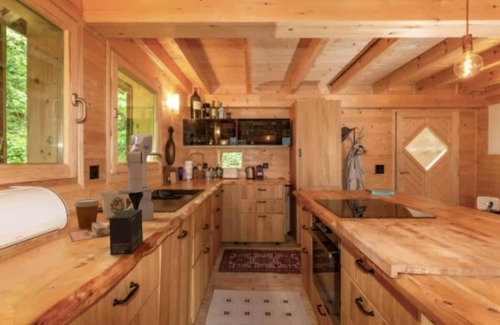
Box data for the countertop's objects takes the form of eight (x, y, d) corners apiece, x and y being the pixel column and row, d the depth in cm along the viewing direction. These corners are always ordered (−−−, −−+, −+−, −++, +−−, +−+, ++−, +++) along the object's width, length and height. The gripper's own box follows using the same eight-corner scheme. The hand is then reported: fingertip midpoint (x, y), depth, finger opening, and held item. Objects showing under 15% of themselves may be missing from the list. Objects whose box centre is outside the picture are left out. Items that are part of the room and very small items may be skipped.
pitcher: (138, 216, 139) (138, 190, 139) (102, 222, 126) (101, 193, 125) (129, 213, 147) (128, 188, 146) (93, 219, 133) (93, 191, 133)
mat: (123, 225, 121) (123, 224, 121) (133, 233, 108) (133, 231, 108) (68, 233, 108) (68, 232, 108) (72, 243, 95) (72, 242, 95)
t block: (120, 225, 118) (120, 218, 118) (127, 231, 108) (127, 224, 108) (91, 229, 111) (91, 222, 111) (96, 236, 102) (96, 228, 102)
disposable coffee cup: (104, 225, 121) (104, 199, 121) (90, 230, 112) (89, 202, 111) (85, 224, 122) (84, 198, 122) (69, 230, 113) (68, 202, 112)
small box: (123, 242, 97) (123, 209, 97) (143, 241, 98) (143, 209, 98) (109, 255, 84) (108, 217, 84) (131, 254, 85) (131, 217, 85)
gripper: (119, 180, 108) (120, 213, 108) (155, 178, 117) (155, 209, 118) (115, 179, 114) (116, 210, 114) (150, 177, 123) (150, 206, 123)
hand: (135, 209), depth 116 cm, fingers closed
